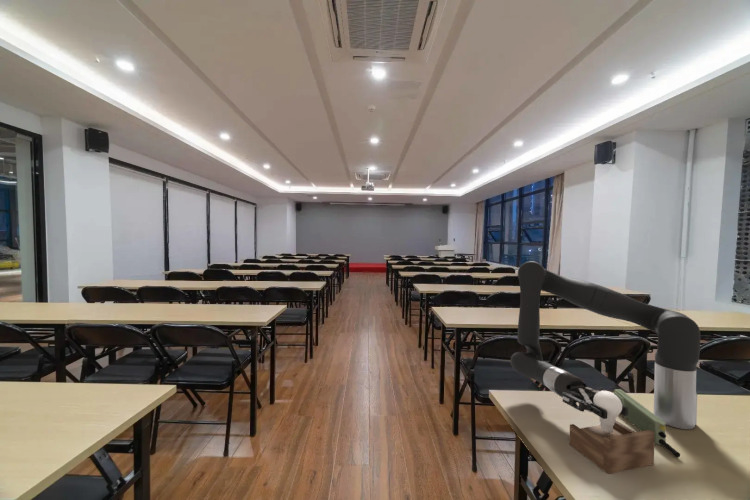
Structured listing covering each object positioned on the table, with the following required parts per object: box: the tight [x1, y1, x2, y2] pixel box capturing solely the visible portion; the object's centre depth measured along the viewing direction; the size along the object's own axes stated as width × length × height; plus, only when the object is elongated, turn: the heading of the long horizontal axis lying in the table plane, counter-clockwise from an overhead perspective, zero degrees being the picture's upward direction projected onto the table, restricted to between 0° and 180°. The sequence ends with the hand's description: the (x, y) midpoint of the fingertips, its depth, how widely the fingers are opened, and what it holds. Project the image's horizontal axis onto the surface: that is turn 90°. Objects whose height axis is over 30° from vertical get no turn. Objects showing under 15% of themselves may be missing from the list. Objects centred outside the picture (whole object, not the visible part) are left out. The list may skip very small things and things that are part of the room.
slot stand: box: [569, 419, 655, 475], centre depth 83 cm, size 14×11×8 cm
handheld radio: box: [613, 388, 681, 458], centre depth 93 cm, size 7×3×25 cm
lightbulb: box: [593, 390, 622, 434], centre depth 83 cm, size 6×6×11 cm
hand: (616, 413), depth 81 cm, fingers closed on lightbulb, 6 cm apart
